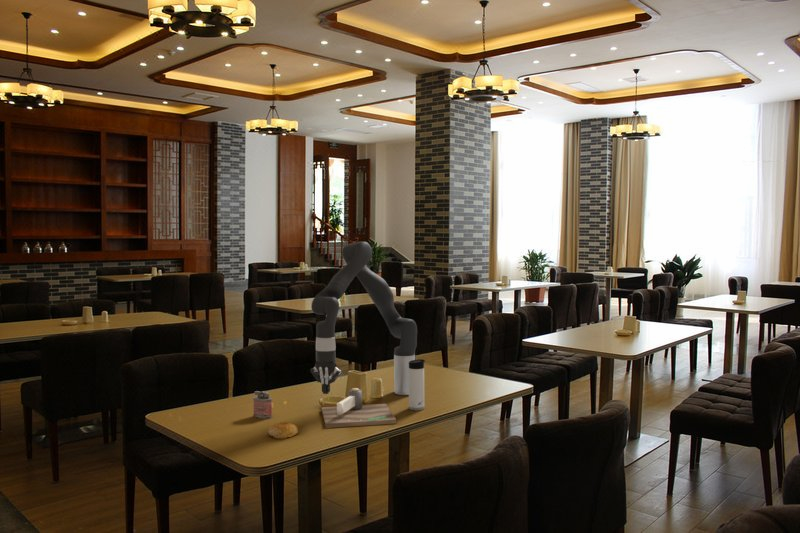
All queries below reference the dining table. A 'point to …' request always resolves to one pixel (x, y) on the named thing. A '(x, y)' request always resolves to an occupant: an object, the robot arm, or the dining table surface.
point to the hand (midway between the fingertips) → (326, 393)
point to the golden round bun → (283, 430)
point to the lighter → (262, 405)
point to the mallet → (350, 401)
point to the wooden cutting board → (358, 416)
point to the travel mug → (416, 384)
